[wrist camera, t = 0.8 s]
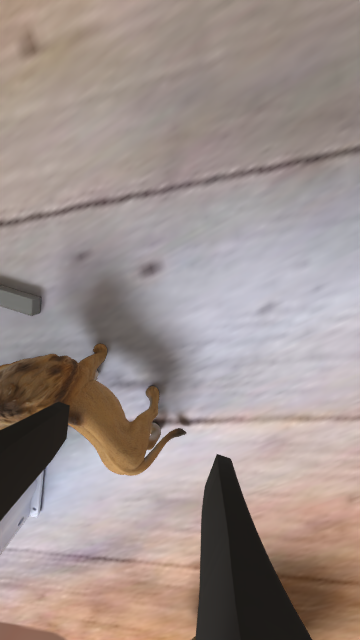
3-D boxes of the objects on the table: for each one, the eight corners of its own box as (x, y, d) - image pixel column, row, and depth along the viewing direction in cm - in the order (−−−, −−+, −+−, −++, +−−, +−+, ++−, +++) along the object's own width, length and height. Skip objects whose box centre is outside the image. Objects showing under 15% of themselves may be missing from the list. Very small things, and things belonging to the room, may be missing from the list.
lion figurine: (46, 360, 22) (-61, 426, 14) (68, 317, 21) (-39, 361, 12) (172, 445, 23) (143, 561, 14) (204, 408, 21) (192, 515, 12)
